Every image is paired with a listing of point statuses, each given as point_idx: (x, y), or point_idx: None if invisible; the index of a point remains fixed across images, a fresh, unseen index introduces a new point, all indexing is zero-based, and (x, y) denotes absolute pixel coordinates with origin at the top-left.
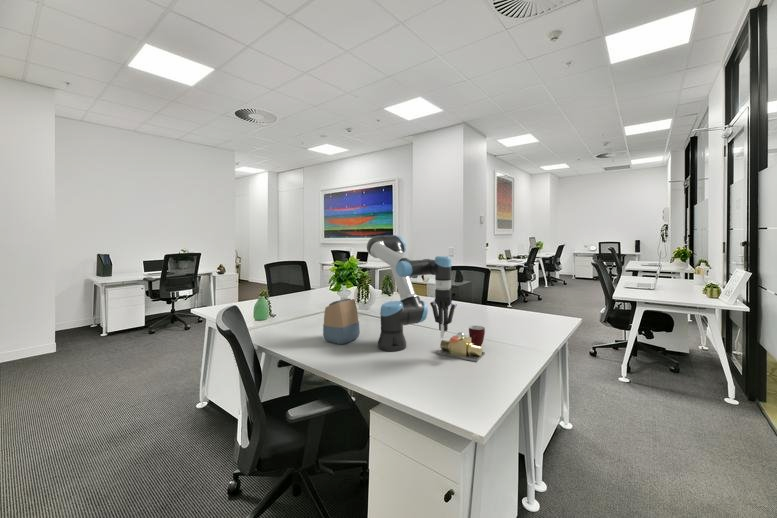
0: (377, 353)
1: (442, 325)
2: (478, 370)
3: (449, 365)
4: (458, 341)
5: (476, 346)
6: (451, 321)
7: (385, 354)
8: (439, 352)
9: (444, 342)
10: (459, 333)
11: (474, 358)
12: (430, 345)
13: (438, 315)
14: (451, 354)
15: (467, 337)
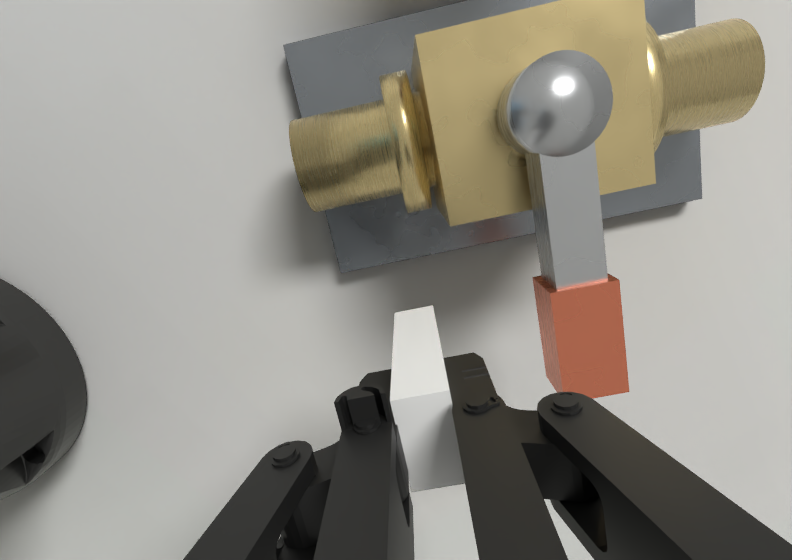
0: (36, 534)
1: (447, 478)
2: (759, 331)
3: (548, 388)
4: None
5: (713, 87)
6: (601, 410)
7: (87, 514)
8: (360, 265)
9: (346, 189)
10: (547, 126)
11: (672, 183)
12: (146, 122)
13: (258, 540)
14: (466, 236)
15: (597, 17)
